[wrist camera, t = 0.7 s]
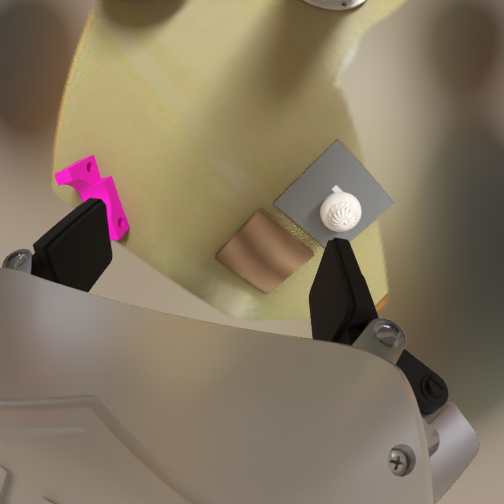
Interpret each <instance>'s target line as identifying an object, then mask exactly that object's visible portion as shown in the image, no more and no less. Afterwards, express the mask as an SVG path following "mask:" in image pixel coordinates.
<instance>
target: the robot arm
mask: <svg viewBox="0 0 504 504" xmlns="http://www.w3.org/2000/svg"><path fill="white" fill-rule="evenodd" d="M303 1H305V2H306V3H308V4H311V5H313V6H316V7H319V8H323V9H328V10H346V9H351V8H354V7H357V6H359V5H360V4H362V3H363V2H364V1H366V0H303ZM341 4H344V6H342V5H341ZM33 247H34V250H35V253H34V254H33V255H32V252H31V251H30V250H28V249H20V250H17V251H14V252H12V253H11V254H9V255H8V256H7V257H6V258H5V260H4V261H3V264H2V268H0V504H436V503H437V502H438V501H439V500H440V499H441V498H442V496H443V495H444V494H445V493H446V492H447V491H448V490H449V489H450V488H451V487H452V485H453V484H454V483H455V482H456V481H457V479H458V478H459V477H460V476H461V475H462V473H463V472H464V471H465V470H466V468H467V467H468V466H469V464H470V463H471V462H472V460H473V459H474V458H475V456H476V455H477V453H478V451H479V446H480V444H479V438H478V436H477V434H476V433H475V431H474V430H473V428H472V427H471V426H470V424H469V423H468V422H467V420H466V419H465V417H464V416H463V415H462V414H461V412H460V411H459V409H458V408H457V407H456V405H455V404H454V403H453V402H451V403H450V404H449V403H448V401H447V399H448V389H447V386H446V384H445V382H444V381H443V379H441V378H440V377H439V376H438V375H437V374H436V373H434V372H433V371H432V370H431V369H429V368H428V367H427V366H426V365H424V364H423V363H421V362H420V361H419V360H418V359H416V358H415V357H414V356H412V355H411V354H410V353H409V352H408V351H406V350H405V349H404V348H405V346H406V342H407V341H406V335H405V333H404V331H403V330H402V329H401V327H400V326H399V325H398V324H396V323H395V322H393V321H391V320H389V319H385V318H378V315H377V312H376V309H375V306H374V303H373V300H372V297H371V294H370V291H369V289H368V286H367V283H366V281H365V278H364V276H363V275H362V273H361V271H360V268H359V266H358V263H357V260H356V258H355V255H354V253H353V250H352V248H351V245H350V243H349V241H348V240H346V239H341V238H336V237H334V238H333V240H328V242H327V245H326V248H325V251H324V253H323V256H322V259H321V262H320V265H319V268H318V271H317V273H316V276H315V279H314V282H313V284H312V287H311V290H310V293H309V306H310V316H311V325H312V337H313V339H310V338H303V337H297V336H290V335H282V334H275V333H269V332H262V331H256V330H249V329H244V328H238V327H233V326H227V325H221V324H217V323H211V322H206V321H201V320H196V319H191V318H186V317H182V316H177V315H172V314H168V313H164V312H159V311H155V310H151V309H147V308H142V307H139V306H135V305H131V304H127V303H123V302H119V301H115V300H112V299H108V298H105V297H101V296H98V295H94V294H91V293H88V292H89V290H90V289H91V288H92V286H93V285H94V284H95V282H96V281H97V280H98V278H99V277H100V276H101V274H102V273H103V272H104V270H105V269H106V268H107V267H108V265H109V264H110V263H111V260H112V249H111V242H110V234H109V226H108V217H107V207H106V204H105V203H104V202H103V200H102V199H98V198H89V199H87V200H86V201H85V202H83V203H82V204H81V205H79V206H78V207H77V208H76V209H74V210H73V211H72V212H71V213H69V214H68V215H67V216H66V217H65V218H63V219H62V220H61V221H60V222H58V223H57V224H56V225H55V226H54V227H52V228H51V229H50V230H49V231H48V232H47V233H46V234H44V235H43V236H42V237H41V238H40V239H39V240H38V241H37V242H36V243H34V244H33Z"/></svg>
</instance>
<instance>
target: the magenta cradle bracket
mask: <svg viewBox="0 0 504 504" xmlns="http://www.w3.org/2000/svg"><path fill="white" fill-rule="evenodd" d="M55 178H56V181H57V184H58V186H59V185H62V184H66V185H70V186H72V187H73V188H75V189H76V190H77V191H78V193H79V194H80V196H81V198H82V200H83V202H85V201H86V200H87V199H89V198H98V199H102V200H103V202H104V203H105V204H106V207H107V217H108V226H109V234H110V241H113V240H119V239H120V238H121V237H122V236H123V235H124V233H125V232H126V231H127V230H128V229H129V228H130V227H129V224H128V221H127V219H126V216H125V213H124V211H123V208H122V205H121V202H120V199H119V196H118V193H117V191H116V188H115V184H114V181H113V178H112V176H110V177H106V178H103V179H101V177H100V174H99V170H98V167H97V164H96V161H95V157H94V155H92V156H89V157H87V158H84V159H81V160H79V161H77V162H75V163H73V164H72V165H70V166H68V167H66V168H65V169H63V170H61V171H60V172H58V173H56V174H55Z"/></svg>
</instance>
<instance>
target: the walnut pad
mask: <svg viewBox="0 0 504 504" xmlns="http://www.w3.org/2000/svg"><path fill="white" fill-rule="evenodd" d="M313 256H314V252H313V251H312V250H311V249H310V248H309V247H307V246H306V245H305V244H304V243H303V242H301V241H300V240H299V239H298V238H297V237H295V236H294V235H293V234H292V233H290V232H289V231H288V230H287V229H285V228H284V227H283V226H282V225H281V224H279V223H278V222H277V221H276V220H274V219H273V218H272V217H271V216H269V215H268V214H267V213H266V212H264V211H263V210H262V209H261V208H260V209H259V210H258V211H257V212H256V213H255V214H254V215H253V216H252V217H251V218H250V219H249V220H248V221H247V222H246V223H245V224H244V225H243V226H242V227H241V228H240V229H239V231H238V232H237V233H236V234H235V235H234V236H233V237H232V238H231V239H230V240H229V241H228V242H227V243H226V244H225V245H224V246H223V247H222V249H221V250H220V251H219V252H218V253H217V254H216V256H215V259H216V260H218V261H219V262H221V263H222V264H224V265H225V266H227V267H228V268H229V269H231V270H232V271H234V272H235V273H237V274H238V275H240V276H241V277H242V278H244V279H245V280H247V281H248V282H250V283H251V284H253V285H254V286H256V287H257V288H259V289H260V290H262V291H263V292H265V293H266V294H268V293H269V292H270V291H271V290H273V289H274V288H275V287H276V286H278V285H279V284H280V283H281V282H283V281H284V280H285V279H286V278H288V277H289V276H290V275H291V274H292V273H294V272H295V271H296V270H297V269H298V268H300V267H301V266H302V265H303V264H305V263H306V262H307V261H308V260H309V259H311V258H312V257H313Z"/></svg>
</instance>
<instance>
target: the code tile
mask: <svg viewBox="0 0 504 504" xmlns="http://www.w3.org/2000/svg"><path fill="white" fill-rule="evenodd" d="M336 192H346V193H349V194H351V195H353V196H354V197H356V198H357V200H358V201H359V203H360V206H361V211H362V214H361V218H360V220H359V222H358V223H357V225H356V226H354V227H353V228H352V229H350V230H348V231H344V232H336V231H333V230H331V229H329V228H328V227H326V226H325V224H324V223H323V221H322V219H321V215H320V209H321V206H322V204H323V202H324V200H325V199H327V197H328V196H329V195H332V194H333V193H336ZM273 204H274V205H275V206H276V207H277V208H279V209H280V210H281V211H282V212H283V213H285V214H286V215H287V216H288V217H289V218H291V219H292V220H293V221H294V222H295V223H297V224H298V225H299V226H300V227H301V228H303V229H304V230H305V231H306V232H307V233H308V234H310V235H311V236H312V237H313V238H314V239H315V240H317V241H318V242H319V243H320V244H321V245H322V246H324V247H325V248H326V245H327V242H328V240H333V238H334V237H336V238H341V239H346V240H348V241H349V242H350V241H351V240H353V239H354V238H355V237H356V236H357V235H358V234H360V233H361V232H362V231H363V230H364V229H365V228H367V227H368V226H369V225H370V224H371V223H372V222H373V221H375V220H376V219H377V218H378V217H379V216H380V215H381V214H383V213H384V212H385V211H386V210H387V209H388V208H389V207H390V206H391V205H393V204H394V201H393V200H392V199H391V197H390V196H389V195H388V194H387V193H386V191H385V190H384V189H383V188H382V187H381V186H380V184H379V183H378V182H377V181H376V180H375V179H374V177H373V176H372V175H371V174H370V173H369V172H368V171H367V170H366V169H365V167H364V166H363V165H362V164H361V163H360V162H359V161H358V160H357V159H356V158H355V157H354V156H353V155H352V154H351V153H350V152H349V150H348V149H347V148H346V147H345V146H344V145H343V144H342V143H341V142H340V141H339V140H338V139H337V140H336V141H335V142H334V143H333V144H332V145H331V146H330V147H329V148H328V149H327V150H326V151H325V152H324V153H323V154H322V155H321V156H320V157H319V158H318V159H317V160H316V161H315V162H314V163H313V164H312V165H311V166H310V167H309V168H308V169H307V170H306V171H305V172H304V173H303V174H302V175H301V176H300V177H299V178H298V179H297V180H296V181H295V182H294V183H293V184H292V185H291V186H290V187H289V188H288V189H287V190H286V191H285V192H284V193H283V194H282V195H281V196H280V197H279V198H278V199H277V200H276V201H275V202H274V203H273Z"/></svg>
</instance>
